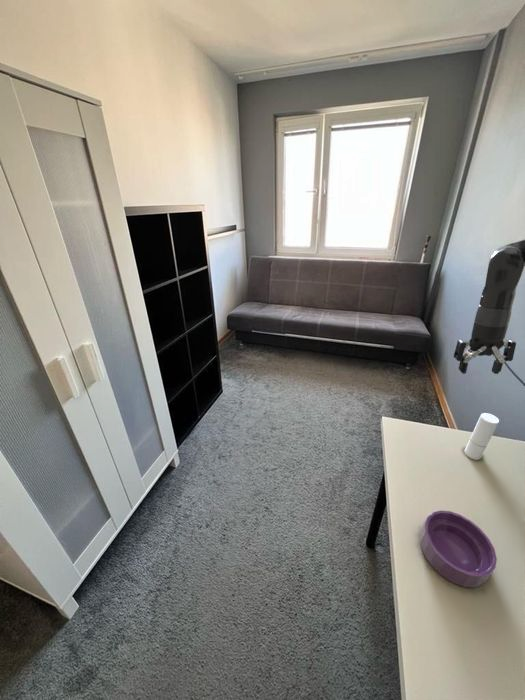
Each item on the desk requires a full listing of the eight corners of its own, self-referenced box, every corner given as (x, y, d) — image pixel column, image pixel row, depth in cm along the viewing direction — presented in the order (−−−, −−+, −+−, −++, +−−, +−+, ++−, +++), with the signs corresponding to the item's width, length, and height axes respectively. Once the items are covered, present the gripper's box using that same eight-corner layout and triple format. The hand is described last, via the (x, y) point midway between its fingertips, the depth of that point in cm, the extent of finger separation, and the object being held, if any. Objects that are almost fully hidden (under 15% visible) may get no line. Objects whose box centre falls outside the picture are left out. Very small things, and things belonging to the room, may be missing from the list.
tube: (478, 462, 85) (496, 425, 77) (462, 453, 88) (478, 417, 80) (482, 454, 87) (501, 418, 80) (467, 446, 90) (483, 410, 83)
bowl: (428, 512, 72) (434, 499, 69) (491, 550, 64) (500, 537, 61) (411, 555, 64) (416, 542, 61) (481, 605, 56) (491, 593, 53)
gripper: (512, 316, 80) (498, 367, 86) (456, 318, 83) (447, 366, 89) (530, 325, 73) (513, 379, 79) (469, 326, 76) (457, 378, 82)
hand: (478, 372), depth 84 cm, fingers open, 8 cm apart
